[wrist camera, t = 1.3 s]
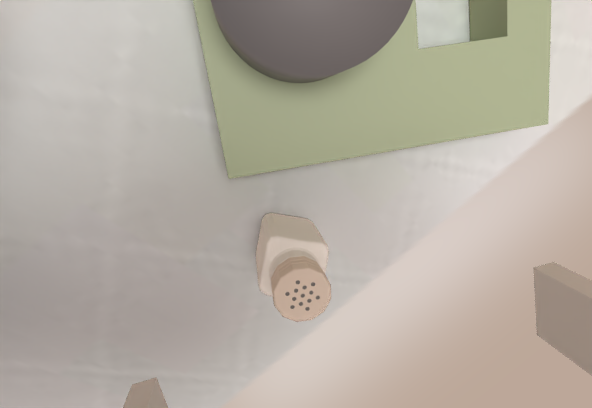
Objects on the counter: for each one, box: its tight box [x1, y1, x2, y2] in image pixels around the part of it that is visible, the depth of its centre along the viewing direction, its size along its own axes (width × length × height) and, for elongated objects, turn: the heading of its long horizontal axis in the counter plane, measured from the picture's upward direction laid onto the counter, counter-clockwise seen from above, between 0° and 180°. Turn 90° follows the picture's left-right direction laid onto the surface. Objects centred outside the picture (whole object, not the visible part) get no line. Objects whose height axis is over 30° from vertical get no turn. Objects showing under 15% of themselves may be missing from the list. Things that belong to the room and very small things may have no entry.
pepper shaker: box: [256, 213, 331, 322], centre depth 24 cm, size 4×4×10 cm
